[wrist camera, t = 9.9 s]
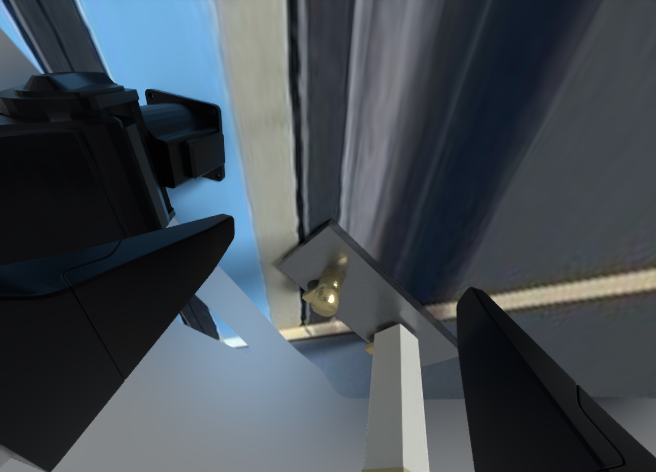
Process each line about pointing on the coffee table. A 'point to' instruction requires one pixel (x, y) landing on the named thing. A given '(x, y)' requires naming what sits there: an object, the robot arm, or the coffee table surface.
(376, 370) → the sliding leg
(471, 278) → the coffee table surface
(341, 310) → the plate
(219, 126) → the robot arm
